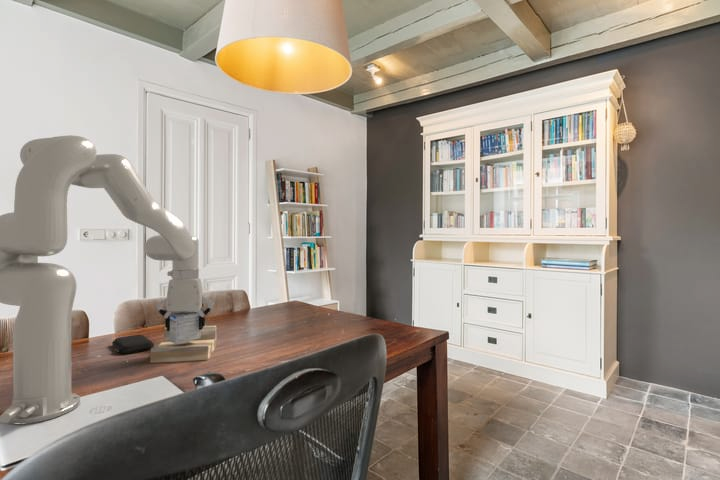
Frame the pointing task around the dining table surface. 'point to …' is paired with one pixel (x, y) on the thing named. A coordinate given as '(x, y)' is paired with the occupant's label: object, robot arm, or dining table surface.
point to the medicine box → (184, 327)
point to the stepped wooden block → (185, 347)
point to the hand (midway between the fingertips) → (185, 329)
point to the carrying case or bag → (132, 344)
